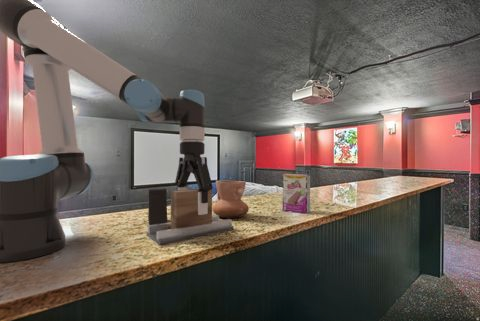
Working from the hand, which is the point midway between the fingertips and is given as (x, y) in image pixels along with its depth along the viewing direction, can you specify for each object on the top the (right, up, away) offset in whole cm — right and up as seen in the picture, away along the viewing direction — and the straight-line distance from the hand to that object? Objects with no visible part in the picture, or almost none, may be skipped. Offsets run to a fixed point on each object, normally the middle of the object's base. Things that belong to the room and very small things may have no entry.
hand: (191, 210), depth 76 cm
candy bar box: (+40, -7, +32) cm, 51 cm away
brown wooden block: (0, -6, 0) cm, 6 cm away
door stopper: (-15, -7, +13) cm, 21 cm away
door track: (0, -7, 0) cm, 7 cm away
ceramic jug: (+11, -7, +24) cm, 27 cm away
